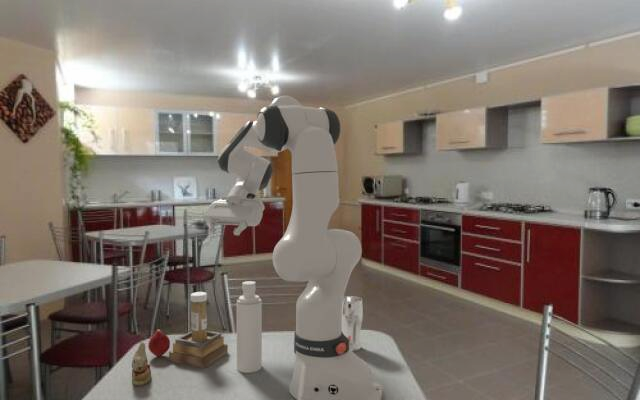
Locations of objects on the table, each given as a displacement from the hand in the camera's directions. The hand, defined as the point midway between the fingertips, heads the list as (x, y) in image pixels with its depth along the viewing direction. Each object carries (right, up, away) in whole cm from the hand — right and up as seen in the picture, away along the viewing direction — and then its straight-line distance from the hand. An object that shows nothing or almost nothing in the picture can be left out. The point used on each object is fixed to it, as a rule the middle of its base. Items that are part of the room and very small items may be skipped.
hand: (223, 233), depth 142 cm
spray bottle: (+12, -35, -21) cm, 43 cm away
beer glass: (+40, -34, -7) cm, 53 cm away
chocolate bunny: (-15, -35, -29) cm, 48 cm away
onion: (-15, -35, -15) cm, 41 cm away
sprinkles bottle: (-4, -30, -15) cm, 33 cm away
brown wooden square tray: (-4, -34, -15) cm, 38 cm away
